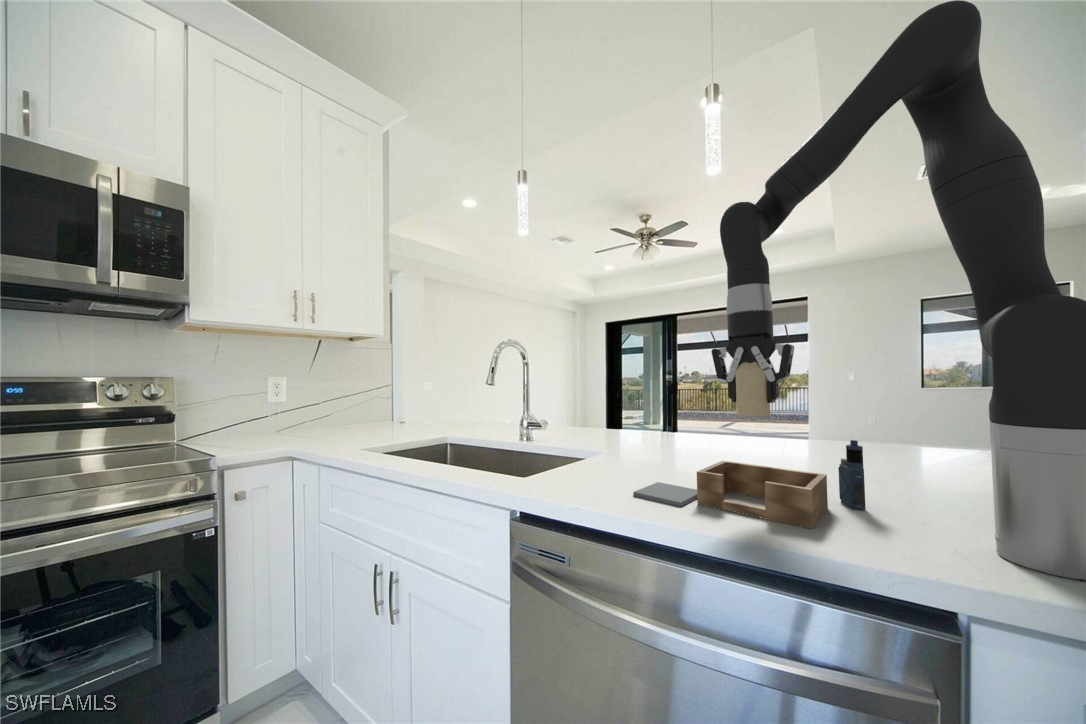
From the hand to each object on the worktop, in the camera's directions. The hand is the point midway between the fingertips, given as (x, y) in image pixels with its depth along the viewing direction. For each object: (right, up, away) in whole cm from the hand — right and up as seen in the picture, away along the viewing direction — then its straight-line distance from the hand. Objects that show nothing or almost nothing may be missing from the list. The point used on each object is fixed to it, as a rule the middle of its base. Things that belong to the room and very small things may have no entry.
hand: (752, 401), depth 74 cm
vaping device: (+17, -19, -2) cm, 26 cm away
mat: (-14, -19, +6) cm, 24 cm away
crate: (+1, -19, -1) cm, 19 cm away
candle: (0, -3, 0) cm, 3 cm away
